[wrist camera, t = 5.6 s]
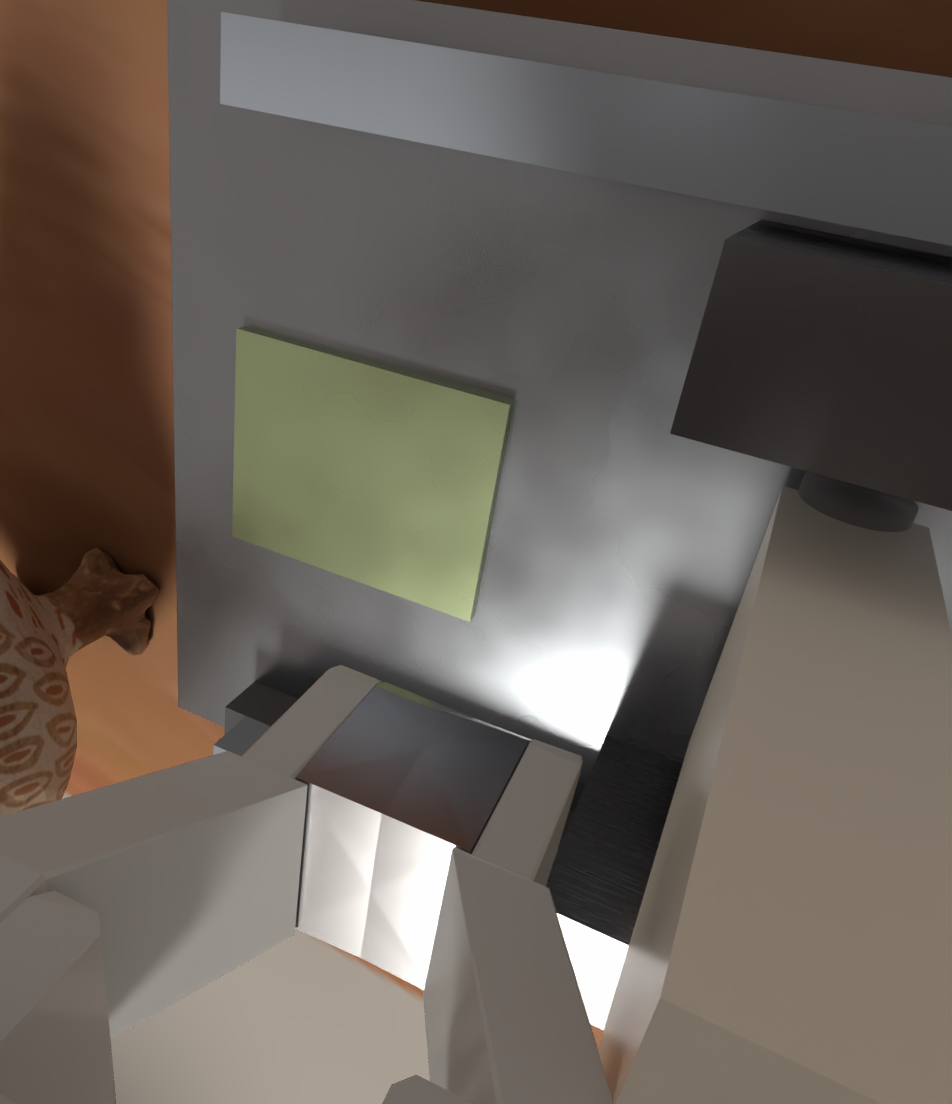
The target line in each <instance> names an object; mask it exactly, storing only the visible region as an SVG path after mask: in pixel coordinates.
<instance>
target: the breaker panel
mask: <svg viewBox="0 0 952 1104" xmlns="http://www.w3.org/2000/svg"><path fill="white" fill-rule="evenodd" d="M221 12H225V13H232V14H238V15H244V16H251V17H257V18H263V19H270V20H276V21H282V22H288V23H295V24H301V25H307V26H314V27H320V28H326V29H332V30H339V31H345V32H351V33H358V34H364V35H370V36H377V37H383V38H389V39H395V40H402V41H408V42H414V43H421V44H427V45H433V46H439V47H446V48H452V49H458V50H465V51H471V52H477V53H484V54H490V55H496V56H502V57H509V58H515V59H521V60H528V61H534V62H540V63H546V64H553V65H559V66H565V67H572V68H578V69H584V70H591V71H597V72H603V73H609V74H616V75H622V76H628V77H635V78H641V79H647V80H653V81H660V82H666V83H672V84H679V85H685V86H691V87H698V88H704V89H710V90H716V91H723V92H729V93H735V94H742V95H748V96H754V97H760V98H767V99H773V100H779V101H786V102H792V103H798V104H805V105H811V106H817V107H823V108H830V109H836V110H842V111H849V112H855V113H861V114H867V115H874V116H880V117H886V118H893V119H899V120H905V121H911V122H918V123H924V124H930V125H937V126H943V127H949V128H952V77H945V76H938V75H931V74H924V73H917V72H911V71H904V70H897V69H890V68H883V67H876V66H869V65H862V64H855V63H848V62H841V61H834V60H827V59H820V58H813V57H806V56H799V55H792V54H785V53H778V52H771V51H764V50H757V49H750V48H743V47H736V46H730V45H723V44H716V43H709V42H702V41H695V40H688V39H681V38H674V37H667V36H660V35H653V34H646V33H639V32H632V31H625V30H618V29H611V28H604V27H597V26H590V25H583V24H576V23H569V22H562V21H555V20H549V19H542V18H535V17H528V16H521V15H514V14H507V13H500V12H493V11H486V10H479V9H472V8H465V7H458V6H451V5H444V4H437V3H430V2H423V1H416V0H167V16H168V79H169V142H170V204H171V267H172V330H173V393H174V456H175V519H176V582H177V644H178V707H180V708H183V709H185V710H187V711H190V712H192V713H194V714H196V715H199V716H201V717H203V718H206V719H208V720H210V721H213V722H215V723H217V724H219V725H222V726H224V727H225V707H226V706H227V705H228V704H229V703H230V702H231V701H232V700H234V699H235V698H236V697H237V696H238V695H239V694H241V693H242V692H243V691H244V690H245V689H246V688H248V687H249V686H250V685H251V684H252V683H253V682H255V681H256V682H258V683H260V684H263V685H265V686H268V687H270V688H273V689H275V690H277V691H280V692H282V693H285V694H287V695H290V696H292V697H294V698H297V699H299V698H300V697H301V696H302V695H303V694H304V693H305V692H306V691H307V690H308V689H309V688H310V687H311V686H312V685H313V684H314V683H315V682H316V681H317V680H318V679H319V678H320V677H321V676H322V675H323V674H324V673H325V672H326V671H327V670H329V669H330V668H333V667H336V666H339V665H343V666H345V667H348V668H350V669H353V670H355V671H358V672H360V673H363V674H365V675H368V676H370V677H373V678H375V679H378V680H380V681H381V682H387V683H389V684H392V685H394V686H397V687H399V688H402V689H404V690H407V691H409V692H412V693H414V694H416V695H419V696H421V697H424V698H426V699H429V700H431V701H434V702H436V703H438V704H441V705H443V706H446V707H448V708H451V709H453V710H456V711H458V712H460V713H463V714H465V715H468V716H470V717H473V718H475V719H478V720H481V721H483V722H486V723H489V724H491V725H494V726H497V727H499V728H502V729H505V730H507V731H510V732H513V733H515V734H518V735H521V736H523V737H526V738H529V739H531V740H534V739H535V740H538V741H541V742H543V743H546V744H549V745H552V746H555V747H557V748H560V749H563V750H566V751H569V752H572V753H574V754H577V755H580V756H581V757H582V760H583V763H582V768H581V773H580V776H579V779H578V783H577V786H576V789H575V793H574V796H573V799H572V803H571V806H570V810H569V811H571V812H573V813H574V814H573V816H572V819H571V821H570V824H569V826H568V828H567V831H566V833H565V835H564V838H563V840H562V843H561V845H560V847H559V850H558V852H557V855H556V857H555V859H554V862H553V865H552V868H551V872H550V875H549V878H548V881H547V884H546V887H547V888H549V890H550V893H551V896H552V900H553V903H554V906H555V909H556V913H557V916H558V919H559V923H560V926H561V929H562V933H563V936H564V939H565V943H566V946H567V949H568V953H569V956H570V959H571V963H572V966H573V969H574V972H575V976H576V979H577V982H578V986H579V989H580V992H581V996H582V999H583V1002H584V1006H585V1009H586V1012H587V1016H588V1019H589V1022H590V1024H591V1025H593V1026H596V1027H598V1028H600V1029H602V1030H604V1028H605V1024H606V1021H607V1018H608V1014H609V1011H610V1008H611V1004H612V1001H613V997H614V994H615V991H616V987H617V984H618V981H619V977H620V974H621V970H622V967H623V964H624V960H625V957H626V954H627V950H628V947H629V943H630V940H631V937H632V933H633V930H634V927H635V923H636V920H637V916H638V913H639V910H640V906H641V903H642V900H643V896H644V893H645V889H646V886H647V883H648V879H649V876H650V873H651V869H652V866H653V862H654V859H655V856H656V852H657V849H658V846H659V842H660V839H661V835H662V832H663V829H664V825H665V822H666V819H667V815H668V812H669V809H670V805H671V802H672V798H673V795H674V792H675V788H676V785H677V782H678V778H679V775H680V771H681V768H682V765H683V761H684V758H685V755H686V751H687V748H688V744H689V741H690V739H691V736H692V733H693V730H694V728H695V725H696V722H697V719H698V717H699V714H700V711H701V708H702V706H703V703H704V700H705V697H706V695H707V692H708V689H709V686H710V684H711V681H712V678H713V675H714V673H715V670H716V667H717V664H718V662H719V659H720V656H721V654H722V651H723V648H724V645H725V643H726V640H727V637H728V634H729V632H730V629H731V626H732V623H733V621H734V618H735V615H736V612H737V610H738V607H739V604H740V601H741V599H742V596H743V593H744V590H745V588H746V585H747V582H748V579H749V577H750V574H751V571H752V568H753V566H754V563H755V560H756V558H757V555H758V552H759V549H760V547H761V544H762V541H763V538H764V536H765V533H766V530H767V527H768V525H769V522H770V519H771V516H772V514H773V511H774V508H775V505H776V503H777V500H778V497H779V494H780V492H781V489H782V486H786V487H789V488H792V489H796V490H799V487H800V484H801V482H802V479H803V476H804V474H805V473H806V472H811V473H815V474H819V475H822V476H826V477H830V478H833V479H837V480H841V481H844V482H848V483H851V484H855V485H859V486H862V487H866V488H870V489H873V490H877V491H881V492H884V493H888V494H892V495H895V496H899V497H902V498H906V499H910V500H913V501H914V502H915V503H916V504H917V506H918V508H919V511H918V513H917V515H916V517H915V520H914V522H913V523H915V524H918V525H922V526H925V527H928V528H929V530H930V535H931V539H932V544H933V549H934V554H935V558H936V563H937V568H938V573H939V577H940V582H941V587H942V591H943V596H944V601H945V606H946V610H947V615H948V620H949V625H950V629H951V634H952V246H949V245H944V244H939V243H933V242H928V241H923V240H918V239H913V238H908V237H903V236H897V235H892V234H887V233H882V232H877V231H872V230H867V229H861V228H856V227H851V226H846V225H841V224H836V223H831V222H825V221H820V220H815V219H810V218H805V217H800V216H795V215H789V214H784V213H779V212H774V211H769V210H764V209H759V208H753V207H748V206H743V205H738V204H733V203H728V202H723V201H718V200H712V199H707V198H702V197H697V196H692V195H687V194H682V193H676V192H671V191H666V190H661V189H656V188H651V187H646V186H640V185H635V184H630V183H625V182H620V181H615V180H610V179H604V178H599V177H594V176H589V175H584V174H579V173H574V172H568V171H563V170H558V169H553V168H548V167H543V166H538V165H532V164H527V163H522V162H517V161H512V160H507V159H502V158H497V157H491V156H486V155H481V154H476V153H471V152H466V151H461V150H455V149H450V148H445V147H440V146H435V145H430V144H425V143H419V142H414V141H409V140H404V139H399V138H394V137H389V136H383V135H378V134H373V133H368V132H363V131H358V130H353V129H347V128H342V127H337V126H332V125H327V124H322V123H317V122H311V121H306V120H301V119H296V118H291V117H286V116H281V115H275V114H270V113H265V112H260V111H255V110H250V109H245V108H240V107H234V106H229V105H224V104H220V66H221Z"/></svg>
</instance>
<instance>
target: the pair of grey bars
mask: <svg viewBox="0 0 952 1104" xmlns="http://www.w3.org/2000/svg"><path fill="white" fill-rule="evenodd" d="M220 104H224V105H229V106H234V107H240V108H245V109H250V110H255V111H260V112H265V113H270V114H275V115H281V116H286V117H291V118H296V119H301V120H306V121H311V122H317V123H322V124H327V125H332V126H337V127H342V128H347V129H353V130H358V131H363V132H368V133H373V134H378V135H383V136H389V137H394V138H399V139H404V140H409V141H414V142H419V143H425V144H430V145H435V146H440V147H445V148H450V149H455V150H461V151H466V152H471V153H476V154H481V155H486V156H491V157H497V158H502V159H507V160H512V161H517V162H522V163H527V164H532V165H538V166H543V167H548V168H553V169H558V170H563V171H568V172H574V173H579V174H584V175H589V176H594V177H599V178H604V179H610V180H615V181H620V182H625V183H630V184H635V185H640V186H646V187H651V188H656V189H661V190H666V191H671V192H676V193H682V194H687V195H692V196H697V197H702V198H707V199H712V200H718V201H723V202H728V203H733V204H738V205H743V206H748V207H753V208H759V209H764V210H769V211H774V212H779V213H784V214H789V215H795V216H800V217H805V218H810V219H815V220H820V221H825V222H831V223H836V224H841V225H846V226H851V227H856V228H861V229H867V230H872V231H877V232H882V233H887V234H892V235H897V236H903V237H908V238H913V239H918V240H923V241H928V242H933V243H939V244H944V245H949V246H952V128H949V127H943V126H937V125H930V124H924V123H918V122H911V121H905V120H899V119H893V118H886V117H880V116H874V115H867V114H861V113H855V112H849V111H842V110H836V109H830V108H823V107H817V106H811V105H805V104H798V103H792V102H786V101H779V100H773V99H767V98H760V97H754V96H748V95H742V94H735V93H729V92H723V91H716V90H710V89H704V88H698V87H691V86H685V85H679V84H672V83H666V82H660V81H653V80H647V79H641V78H635V77H628V76H622V75H616V74H609V73H603V72H597V71H591V70H584V69H578V68H572V67H565V66H559V65H553V64H546V63H540V62H534V61H528V60H521V59H515V58H509V57H502V56H496V55H490V54H484V53H477V52H471V51H465V50H458V49H452V48H446V47H439V46H433V45H427V44H421V43H414V42H408V41H402V40H395V39H389V38H383V37H377V36H370V35H364V34H358V33H351V32H345V31H339V30H332V29H326V28H320V27H314V26H307V25H301V24H295V23H288V22H282V21H276V20H270V19H263V18H257V17H251V16H244V15H238V14H232V13H225V12H221V66H220ZM297 700H298V699H297V698H294V697H292V696H290V695H287V694H285V693H282V692H280V691H277V690H275V689H273V688H270V687H268V686H265V685H263V684H260V683H258V682H256V681H255V682H253V683H252V684H251V685H250V686H249V687H248V688H246V689H245V690H244V691H243V692H242V693H241V694H239V695H238V696H237V697H236V698H235V699H234V700H232V701H231V702H230V703H229V704H228V705H227V706H226V707H225V735H224V736H223V737H222V738H221V739H220V740H219V741H218V742H217V743H215V744H214V755H215V754H219V753H222V752H226V751H229V752H232V753H234V754H237V755H239V756H242V755H243V754H244V753H245V752H246V751H247V750H248V749H249V748H250V747H251V746H252V745H253V744H254V743H255V742H256V741H257V740H258V739H259V738H260V737H261V736H262V735H263V734H264V733H265V732H266V731H267V730H268V729H269V728H270V727H271V726H272V725H273V724H274V723H275V722H276V721H277V720H278V719H279V718H280V717H281V716H282V715H283V714H284V713H285V712H286V711H287V710H288V709H289V708H290V707H291V706H292V705H293V704H294V703H295V702H296V701H297ZM573 814H574V813H573V812H571V811H569V813H568V816H567V820H566V823H565V826H564V830H563V833H562V837H561V840H560V843H559V847H560V845H561V843H562V840H563V838H564V835H565V833H566V831H567V828H568V826H569V824H570V821H571V819H572V816H573ZM559 847H558V850H559ZM558 850H557V852H558ZM556 855H557V853H556ZM555 857H556V856H555Z"/></svg>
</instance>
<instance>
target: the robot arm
mask: <svg viewBox="0 0 952 1104" xmlns="http://www.w3.org/2000/svg"><path fill="white" fill-rule="evenodd" d="M582 763H583V760H582V757H581V756H580V755H577V754H574V753H572V752H569V751H566V750H563V749H560V748H557V747H555V746H552V745H549V744H546V743H543V742H541V741H538V740H535V739H534V740H531V739H529V738H526V737H523V736H521V735H518V734H515V733H513V732H510V731H507V730H505V729H502V728H499V727H497V726H494V725H491V724H489V723H486V722H483V721H481V720H478V719H475V718H473V717H470V716H468V715H465V714H463V713H460V712H458V711H456V710H453V709H451V708H448V707H446V706H443V705H441V704H438V703H436V702H434V701H431V700H429V699H426V698H424V697H421V696H419V695H416V694H414V693H412V692H409V691H407V690H404V689H402V688H399V687H397V686H394V685H392V684H389V683H387V682H381V681H380V680H378V679H375V678H373V677H370V676H368V675H365V674H363V673H360V672H358V671H355V670H353V669H350V668H348V667H345V666H343V665H339V666H336V667H333V668H330V669H329V670H327V671H326V672H325V673H324V674H323V675H322V676H321V677H320V678H319V679H318V680H317V681H316V682H315V683H314V684H313V685H312V686H311V687H310V688H309V689H308V690H307V691H306V692H305V693H304V694H303V695H302V696H301V697H300V698H299V699H298V700H297V701H296V702H295V703H294V704H293V705H292V706H291V707H290V708H289V709H288V710H287V711H286V712H285V713H284V714H283V715H282V716H281V717H280V718H279V719H278V720H277V721H276V722H275V723H274V724H273V725H272V726H271V727H270V728H269V729H268V730H267V731H266V732H265V733H264V734H263V735H262V736H261V737H260V738H259V739H258V740H257V741H256V742H255V743H254V744H253V745H252V746H251V747H250V748H249V749H248V750H247V751H246V752H245V753H244V754H243V755H242V756H239V755H237V754H234V753H232V752H229V751H226V752H222V753H219V754H215V755H212V756H208V757H205V758H202V759H198V760H195V761H191V762H188V763H184V764H181V765H177V766H174V767H171V768H167V769H164V770H160V771H157V772H153V773H150V774H147V775H143V776H140V777H136V778H133V779H129V780H126V781H122V782H119V783H116V784H112V785H109V786H105V787H102V788H98V789H95V790H92V791H88V792H85V793H81V794H78V795H74V796H71V797H67V798H64V799H61V800H57V801H54V802H50V803H47V804H43V805H40V806H37V807H33V808H30V809H26V810H23V811H19V812H16V813H13V814H9V815H6V816H2V817H0V1104H116V1094H115V1082H114V1071H113V1060H112V1049H111V1039H112V1038H114V1037H116V1036H118V1035H119V1034H121V1033H123V1032H125V1031H126V1030H128V1029H130V1028H132V1027H134V1026H135V1025H137V1024H139V1023H141V1022H142V1021H144V1020H146V1019H148V1018H149V1017H151V1016H153V1015H155V1014H156V1013H158V1012H160V1011H162V1010H163V1009H165V1008H167V1007H169V1006H170V1005H172V1004H174V1003H176V1002H177V1001H179V1000H181V999H183V998H184V997H186V996H188V995H190V994H191V993H193V992H195V991H197V990H198V989H200V988H202V987H204V986H205V985H207V984H209V983H211V982H213V981H214V980H216V979H218V978H220V977H221V976H223V975H225V974H227V973H228V972H230V971H232V970H234V969H235V968H237V967H239V966H241V965H242V964H244V963H245V962H247V961H249V960H251V959H253V958H255V957H256V956H258V955H260V954H262V953H263V952H265V951H267V950H269V949H270V948H272V947H274V946H276V945H277V944H279V943H281V942H283V941H284V940H286V939H288V938H290V937H291V936H293V935H294V934H295V929H297V930H299V931H302V932H304V933H306V934H308V935H311V936H313V937H315V938H317V939H320V940H322V941H324V942H326V943H329V944H331V945H333V946H335V947H338V948H340V949H342V950H344V951H347V952H349V953H351V954H354V955H356V956H358V957H360V958H362V959H364V960H366V961H368V962H370V963H372V964H374V965H376V966H378V967H380V968H382V969H384V970H385V971H387V972H389V973H391V974H393V975H395V976H397V977H399V978H401V979H403V980H405V981H407V982H409V983H411V984H413V985H415V986H417V987H419V988H420V989H422V990H424V993H423V1001H424V1013H425V1026H426V1038H427V1050H428V1062H429V1075H430V1081H428V1080H426V1079H424V1078H422V1077H420V1076H417V1075H415V1076H412V1077H410V1078H407V1079H404V1080H402V1081H399V1082H397V1083H395V1084H392V1085H391V1087H390V1089H389V1091H388V1093H387V1095H386V1097H385V1099H384V1101H383V1103H382V1104H612V1103H613V1098H612V1095H611V1092H610V1089H609V1085H608V1082H607V1079H606V1075H605V1072H604V1069H603V1065H602V1062H601V1059H600V1055H599V1052H598V1049H597V1045H596V1042H595V1039H594V1035H593V1032H592V1029H591V1026H590V1022H589V1019H588V1016H587V1012H586V1009H585V1006H584V1002H583V999H582V996H581V992H580V989H579V986H578V982H577V979H576V976H575V972H574V969H573V966H572V963H571V959H570V956H569V953H568V949H567V946H566V943H565V939H564V936H563V933H562V929H561V926H560V923H559V919H558V916H557V913H556V909H555V906H554V903H553V900H552V896H551V893H550V890H549V888H547V887H546V884H547V881H548V878H549V875H550V872H551V868H552V865H553V862H554V859H555V856H556V853H557V850H558V847H559V843H560V840H561V837H562V833H563V830H564V826H565V823H566V820H567V816H568V813H569V810H570V806H571V803H572V799H573V796H574V793H575V789H576V786H577V783H578V779H579V776H580V773H581V768H582Z"/></svg>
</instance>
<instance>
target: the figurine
mask: <svg viewBox="0 0 952 1104" xmlns="http://www.w3.org/2000/svg"><path fill="white" fill-rule="evenodd" d="M159 590H160V589H158V588H157V587H156V586H155V584H154V583H153V582H152V581H151V580H150V579H148V578H147V577H146V576H145V575H143V574H140V575H131V574H124V573H121V572H120V571H119V569H118V567H117V566H116V564H115V562H114V561H113V559H112V557H111V556H110V555H108V554H107V553H105V552H104V551H102V550H101V549H99V548H94V549H92V550H90V551H89V552H87V553H85V554H84V556H83V559H82V562H81V564H80V566H79V568H78V569H77V570H76V572H75V573H74V574H73V575H72V577H71V578H70V579H69V581H68V582H67V583H65V584H64V585H63V586H62V587H60V588H59V589H57V590H55V591H54V592H51V593H46V594H43V595H39V596H36V595H33V594H32V593H31V592H30V591H29V590H28V589H27V588H26V586H25V585H24V584H23V583H22V582H21V581H20V580H19V579H18V578H17V577H16V576H15V575H13V574H12V573H11V572H10V571H9V570H8V568H7V567H6V566H5V565H4V563H3V562H2V561H1V560H0V817H2V816H6V815H9V814H13V813H16V812H19V811H23V810H26V809H30V808H33V807H37V806H40V805H43V804H47V803H50V802H54V801H57V800H61V799H62V797H63V795H64V793H65V790H66V788H67V785H68V782H69V779H70V775H71V771H72V767H73V762H74V757H75V753H76V748H77V720H76V715H75V710H74V706H73V701H72V696H71V691H70V687H69V682H68V677H67V673H66V670H65V669H66V666H67V663H68V660H69V657H70V656H71V655H73V654H74V653H75V652H77V651H78V650H79V649H81V648H83V647H84V646H86V645H88V644H90V643H92V642H94V641H95V640H97V639H99V638H101V637H103V636H104V635H106V636H109V637H111V638H112V639H113V640H114V641H116V642H117V643H118V644H119V645H120V646H121V647H122V648H123V649H124V650H126V651H127V652H128V653H129V654H130V655H140V654H142V653H143V652H144V650H145V649H146V648H147V646H148V645H149V639H148V635H149V630H150V625H151V622H150V621H149V620H147V617H146V615H145V611H146V609H147V608H148V607H150V606H152V604H153V603H154V601H155V599H156V597H157V595H158V592H159Z"/></svg>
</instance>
